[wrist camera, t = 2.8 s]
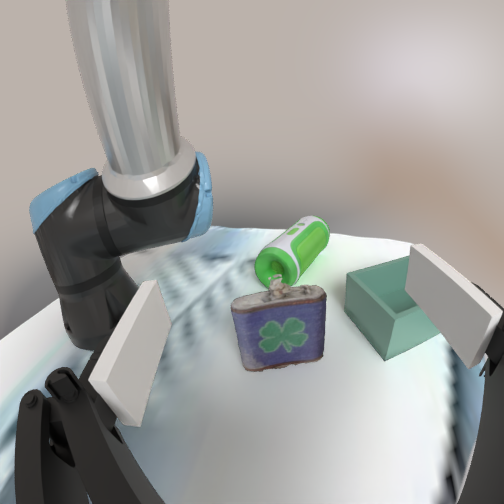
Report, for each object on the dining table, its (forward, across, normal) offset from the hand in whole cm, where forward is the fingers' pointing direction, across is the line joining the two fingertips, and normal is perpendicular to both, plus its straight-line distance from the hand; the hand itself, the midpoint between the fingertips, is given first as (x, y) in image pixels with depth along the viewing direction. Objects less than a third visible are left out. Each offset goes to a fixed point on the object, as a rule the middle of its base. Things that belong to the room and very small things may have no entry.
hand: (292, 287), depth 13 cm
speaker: (+32, +5, -16) cm, 36 cm away
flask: (+10, 0, -16) cm, 19 cm away
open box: (+13, +17, -16) cm, 27 cm away
